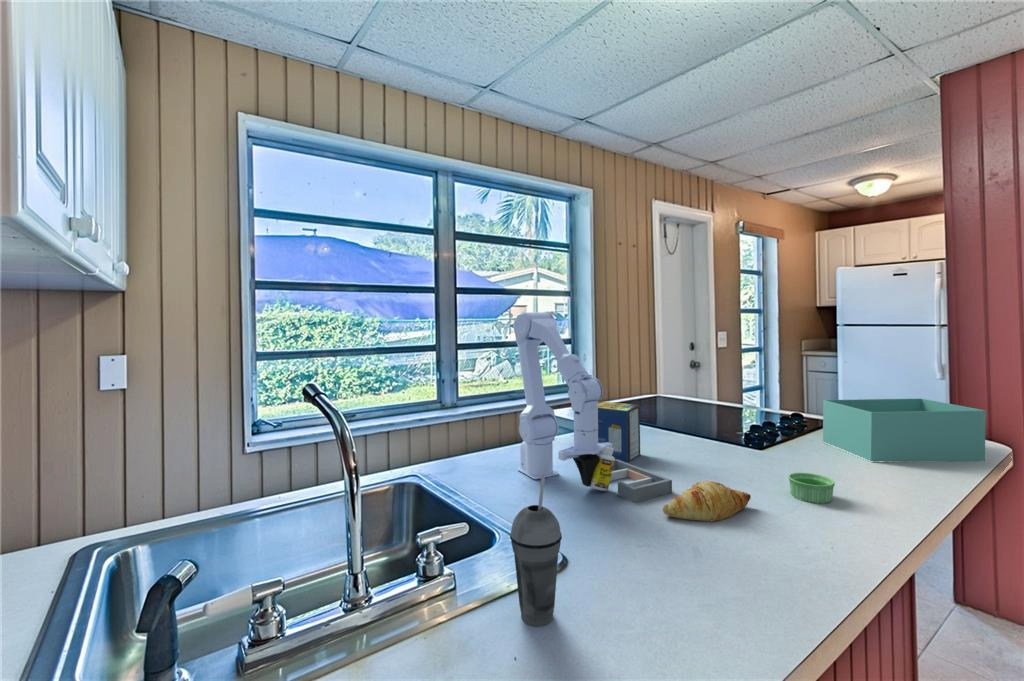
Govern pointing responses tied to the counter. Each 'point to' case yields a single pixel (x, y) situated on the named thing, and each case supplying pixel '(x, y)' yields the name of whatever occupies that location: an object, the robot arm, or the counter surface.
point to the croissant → (707, 502)
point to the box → (905, 429)
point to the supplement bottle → (603, 470)
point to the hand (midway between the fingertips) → (586, 485)
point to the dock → (639, 482)
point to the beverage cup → (536, 561)
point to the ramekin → (811, 487)
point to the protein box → (620, 429)
